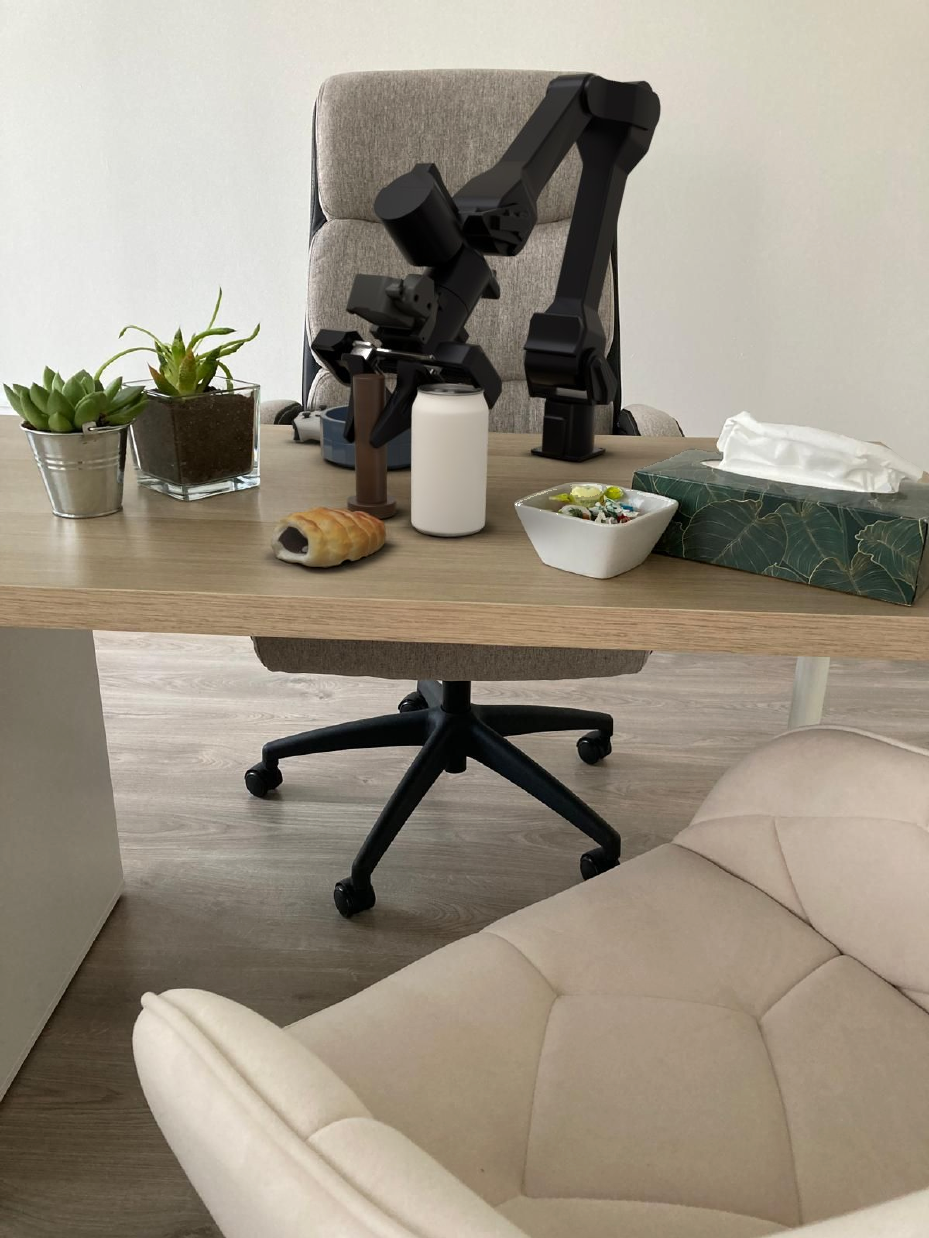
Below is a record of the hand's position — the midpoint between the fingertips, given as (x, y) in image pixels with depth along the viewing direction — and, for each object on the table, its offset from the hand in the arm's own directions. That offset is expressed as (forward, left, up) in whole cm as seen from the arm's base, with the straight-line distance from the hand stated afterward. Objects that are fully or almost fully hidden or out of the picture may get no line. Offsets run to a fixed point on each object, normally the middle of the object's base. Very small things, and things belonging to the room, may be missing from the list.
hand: (359, 443), depth 90 cm
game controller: (-22, -26, -7) cm, 35 cm away
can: (-2, +8, -7) cm, 11 cm away
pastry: (+10, +5, -7) cm, 13 cm away
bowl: (-18, -14, -7) cm, 24 cm away
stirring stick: (-1, 0, -7) cm, 7 cm away
